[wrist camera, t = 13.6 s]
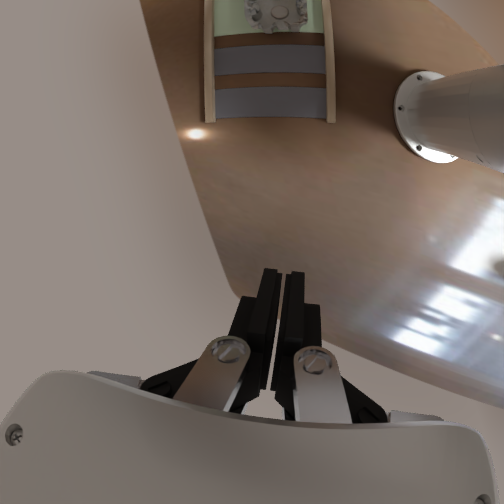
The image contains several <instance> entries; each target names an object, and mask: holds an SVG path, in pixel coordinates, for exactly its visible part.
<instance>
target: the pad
mask: <svg viewBox="0 0 504 504" xmlns="http://www.w3.org/2000/svg"><path fill="white" fill-rule="evenodd" d="M307 15H308V21H307V22H308V23H307V24H306V25H303V26H302V27H301V28H300V31H299V32H313V33H324V29H323V16H322V6H321V0H307ZM259 32H264V31H263V30H262V29H253V28H252V27H251V25H250V24H249V23H248V21H247V20H246V18H245V12H244V0H214V37H216V36H224V35H233V34H244V33H259ZM273 32H291V30H290V28H289V30H278V29H277V27H276V28H275V29H274V31H273Z"/></svg>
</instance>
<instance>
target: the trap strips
mask: <svg viewBox="0 0 504 504" xmlns="http://www.w3.org/2000/svg"><path fill="white" fill-rule="evenodd" d="M265 72H297V73H320V74H326V65H325V46H316V45H254V46H239V47H229V48H220V49H214V74H215V76H219V75H229V74H243V73H265ZM215 117H216V119H218V118H235V117H307V118H324V119H326V88H311V87H246V88H230V89H218V90H215Z"/></svg>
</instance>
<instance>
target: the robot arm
mask: <svg viewBox="0 0 504 504" xmlns="http://www.w3.org/2000/svg"><path fill="white" fill-rule="evenodd" d="M417 77H418V79H417ZM398 107H400V108H401V110H399V109H398ZM393 110H394V119H395V122H396V126H397V129H398V131H399V133H400V135H401V137H402V139H403V140H404V142H405V143H406V145H407V146H408V147H409V148H410V149H411V150H412V151H413V152H414V153H416V154H417V155H418V156H420V157H422V158H423V159H425V160H428V161H431V162H435V163H448V162H451V161H454V160H456V159H457V158H461V159H464V160H468V161H471V162H474V163H477V164H480V165H483V166H485V167H488V168H491V169H494V170H496V171H499V172H502V173H504V65H498V66H492V67H487V68H482V69H477V70H472V71H467V72H463V73H459V74H454V75H450V76H446V77H445V76H444V75H442V74H439V73H437V72H432V71H421V72H417V73H414V74H412V75H410V76H408V77H407V78H406V79H404V80H403V81H402V83H401V84H400V85H399V87H398V89H397V91H396V94H395V98H394V108H393ZM416 146H418V149H416ZM304 279H305V273H304V272H295V271H292V273H291V274H286V280H285V288H284V296H283V304H282V311H281V319H280V327H279V333H278V340H277V347H276V355H275V362H274V369H273V375H272V382H271V388H270V390H271V391H276V392H275V400H276V401H277V402H279V404H280V405H281V406H282V407H283V409H282V420H279V419H271V418H263V417H256V416H248V415H244V413H245V411H246V408H247V405H248V402H249V401H251V400H253V399H254V398H256V397H259V393H260V389H263V390H265V389H266V385H267V380H268V374H269V368H270V362H271V356H272V350H273V344H274V337H275V331H276V324H277V316H278V307H279V298H280V289H281V280H282V273H277V269H268V268H265V269H264V272H263V276H262V280H261V283H260V287H259V291H258V294H257V298H255V297H247V296H242V297H241V300H240V303H239V306H238V308H237V311H236V314H235V317H234V320H233V323H232V325H231V328H230V331H229V334H228V336H222V337H218V338H216V339H214V340H213V341H211V343H209V345H208V346H207V347H206V349H205V351H204V352H203V354H202V355H201V357H200V358H199V359H197V360H194V361H192V362H189V363H187V364H184V365H182V366H179V367H176V368H174V369H171V370H168V371H165V372H163V373H160V374H157V375H154V376H152V377H150V378H148V379H146V380H141V377H136V376H127V375H119V374H111V373H105V372H99V371H91V372H88V373H83V372H78V371H65V370H60V371H51V372H48V373H45V374H43V375H41V376H40V377H39V378H37V380H35V381H34V382H33V383H32V384H31V385H30V386H29V387H28V388H27V389H26V390H25V392H24V393H23V394H22V395H21V397H20V398H19V399H18V400H17V402H16V403H15V404H14V406H13V407H12V408H11V410H10V411H9V412H8V414H7V415H6V417H5V418H4V420H3V421H2V423H1V425H0V504H499V492H498V485H497V480H496V475H495V469H494V465H493V461H492V458H491V455H490V452H489V449H488V446H487V444H486V442H485V440H484V438H483V437H482V435H481V434H480V433H479V432H478V431H477V430H475V429H474V428H472V427H470V426H467V425H464V424H460V423H456V422H449V421H444V420H443V419H441V418H440V417H437V416H432V415H424V414H415V413H408V412H401V411H394V410H391V412H390V413H389V412H385V411H384V409H383V408H382V407H381V406H379V405H378V404H377V403H375V402H374V401H373V400H371V399H370V398H369V397H368V396H366V395H365V394H364V393H362V392H361V391H360V390H358V389H357V388H356V387H355V386H353V385H352V384H351V383H349V382H348V381H347V380H346V379H344V378H343V377H342V376H341V375H340V371H339V367H338V364H337V360H336V358H335V356H334V355H333V354H332V353H331V352H330V351H328V350H327V349H325V348H322V341H321V317H320V305H317V304H307V303H304Z"/></svg>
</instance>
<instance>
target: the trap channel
mask: <svg viewBox="0 0 504 504" xmlns="http://www.w3.org/2000/svg"><path fill="white" fill-rule="evenodd" d="M321 6H322V16H323V29H324V45H325V65H326V122H327V123H336V96H335V62H334V43H333V30H332V18H331V8H330V0H321ZM204 94H205V123H213V122H216V117H215V74H214V0H205V3H204Z"/></svg>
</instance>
